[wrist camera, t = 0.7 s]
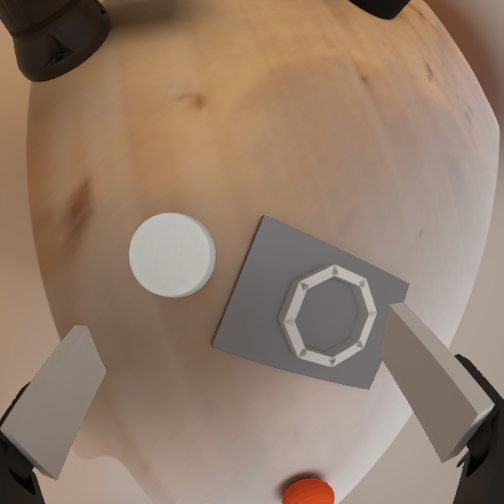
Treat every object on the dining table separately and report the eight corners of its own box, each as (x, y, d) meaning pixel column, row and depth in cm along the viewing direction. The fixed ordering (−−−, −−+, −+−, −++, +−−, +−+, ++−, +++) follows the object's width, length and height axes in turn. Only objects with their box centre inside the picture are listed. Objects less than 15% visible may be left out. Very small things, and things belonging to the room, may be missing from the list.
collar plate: (261, 216, 29) (269, 210, 26) (403, 283, 32) (419, 284, 29) (211, 343, 28) (212, 353, 25) (364, 386, 31) (377, 395, 28)
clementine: (306, 504, 29) (322, 533, 22) (265, 502, 28) (277, 535, 21) (331, 470, 30) (353, 498, 23) (289, 467, 29) (307, 500, 22)
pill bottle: (171, 215, 28) (155, 184, 16) (223, 247, 28) (239, 237, 17) (139, 267, 27) (102, 269, 16) (191, 300, 28) (186, 324, 16)
